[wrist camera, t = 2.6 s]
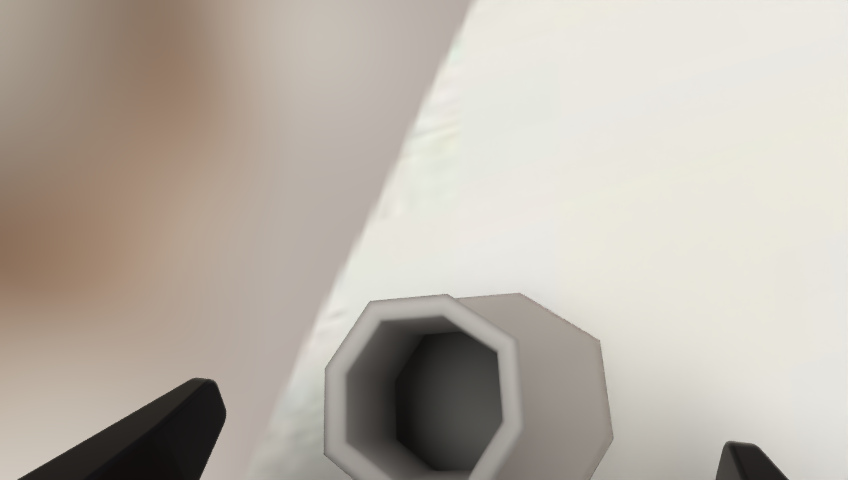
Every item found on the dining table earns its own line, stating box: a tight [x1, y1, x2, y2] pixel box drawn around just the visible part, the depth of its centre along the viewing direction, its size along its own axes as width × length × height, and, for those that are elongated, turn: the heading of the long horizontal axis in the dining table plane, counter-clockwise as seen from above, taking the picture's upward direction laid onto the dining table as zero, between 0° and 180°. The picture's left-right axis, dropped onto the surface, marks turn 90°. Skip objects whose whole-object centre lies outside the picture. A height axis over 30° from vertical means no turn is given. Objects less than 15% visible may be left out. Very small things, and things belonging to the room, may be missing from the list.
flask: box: [324, 293, 613, 480], centre depth 13 cm, size 7×7×10 cm
